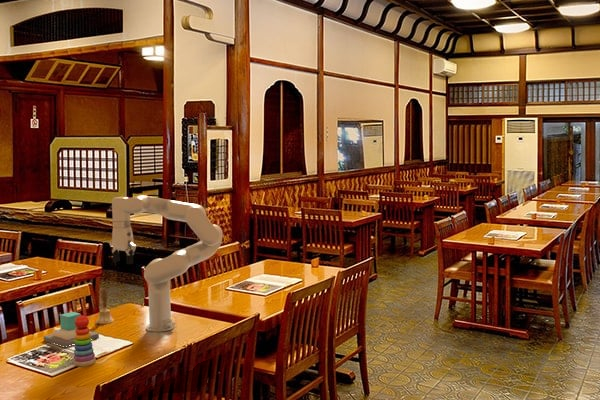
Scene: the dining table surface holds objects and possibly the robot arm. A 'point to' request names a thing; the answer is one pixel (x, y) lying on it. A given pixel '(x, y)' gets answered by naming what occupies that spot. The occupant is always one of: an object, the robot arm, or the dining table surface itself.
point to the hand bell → (104, 311)
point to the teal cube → (68, 320)
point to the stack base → (66, 342)
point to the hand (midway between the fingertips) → (123, 262)
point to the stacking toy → (83, 343)
